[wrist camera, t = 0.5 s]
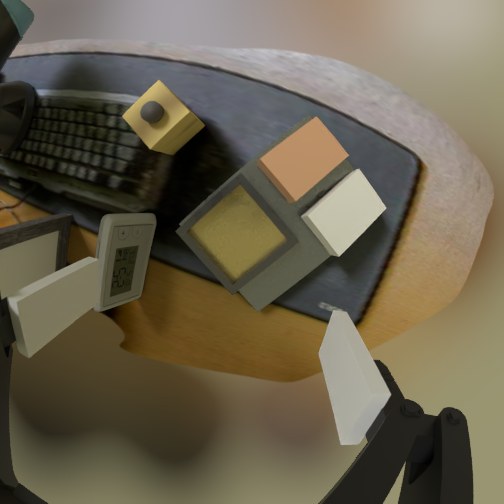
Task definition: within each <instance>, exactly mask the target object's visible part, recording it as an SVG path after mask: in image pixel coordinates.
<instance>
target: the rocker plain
mask: <svg viewBox="0 0 504 504" xmlns="http://www.w3.org/2000/svg"><path fill="white" fill-rule="evenodd" d="M385 209H386V207H385V205H384V204H383V202H382V201H381V199H380V198H379V196H378V195H377V193H376V192H375V191H374V189H373V188H372V186H371V185H370V183H369V182H368V181H367V179H366V178H365V176H364V175H363V174H362V172H361V171H360V170H359V169H357V170H355V171H352V172H350V173H349V174H348V175H346V176H345V177H344V178H343V179H342V180H341V181H340V182H339V183H338V184H336V185H335V186H334V187H333V188H332V189H331V190H330V191H329V192H328V193H326V194H325V195H324V196H323V197H322V198H321V199H320V200H319V201H318V202H316V203H315V204H314V205H313V206H312V207H311V208H310V209H309V210H307V211H306V212H305V213H304V214H303V215H302V216H301V218H302V219H303V220H304V222H305V223H306V224H307V225H308V227H309V228H310V229H311V230H312V232H313V233H314V234H315V235H316V237H317V238H318V239H319V241H320V242H321V243H322V244H323V246H324V247H325V248H326V250H327V251H328V252H329V254H330V255H333V256H338V257H339V256H340V255H341V254H342V253H343V252H344V251H345V250H346V249H347V248H348V247H349V246H350V245H351V244H352V243H353V242H354V241H355V240H356V239H357V238H358V237H359V236H360V235H361V234H362V233H363V232H364V231H365V230H366V229H367V228H368V227H369V226H370V225H371V224H372V223H373V222H374V221H375V220H376V219H377V218H378V217H379V215H380V214H381V213H382V212H383V211H384V210H385Z"/></svg>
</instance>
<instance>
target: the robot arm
mask: <svg viewBox="0 0 504 504" xmlns="http://www.w3.org/2000/svg"><path fill="white" fill-rule="evenodd" d="M33 20H34V13H33V11H32V10H31V9H30V8H29V7H28V6H27V5H26V4H25V3H23V2H22V1H21V0H0V71H1V70H2V68H3V66H4V64H5V63H6V61H7V60H8V58H9V56H10V55H11V53H12V52H13V50H14V49H15V47H16V46H17V44H18V43H19V41H21V40H22V38H23V35H24V34H25V32H26V31H27V30H28V28H29V27H30V25H31V24H32V22H33ZM33 110H34V91H33V88H32V86H31V85H30V84H29V83H26V82H23V81H13V82H7V83H2V84H0V154H9V153H11V152H13V151H14V150H15V149H16V148H17V147H18V146H19V144H20V143H21V141H22V140H23V138H24V136H25V134H26V132H27V130H28V127H29V125H30V122H31V118H32V115H33ZM98 303H99V259H96V258H92V257H87V258H84V259H82V260H80V261H78V262H76V263H73V264H71V265H69V266H67V267H65V268H63V269H61V270H58V271H56V272H54V273H52V274H50V275H48V276H46V277H44V278H42V279H40V280H38V281H36V282H34V283H32V284H30V285H28V286H26V287H24V288H22V289H20V290H18V291H16V292H14V293H12V294H11V295H9V296H7V297H5V298H4V299H1V293H0V504H48V503H47V502H45V501H44V500H42V499H41V498H39V497H38V496H36V495H35V494H34V493H32V492H31V491H29V490H28V489H27V488H25V487H24V486H23V485H21V484H20V483H18V481H17V479H16V477H15V474H14V471H13V466H12V459H11V448H10V434H9V388H10V374H11V363H12V354H13V348H12V343H13V342H14V341H16V343H17V347H18V351H19V352H20V353H22V354H23V355H25V356H26V357H28V358H30V357H31V356H32V355H33V354H35V353H36V352H37V351H38V350H39V349H41V348H42V347H43V346H44V345H45V344H47V343H48V342H49V341H50V340H52V339H53V338H54V337H55V336H57V335H58V334H59V333H60V332H62V331H63V330H64V329H66V328H67V327H68V326H69V325H71V324H72V323H73V322H74V321H76V320H77V319H78V318H80V317H81V316H82V315H83V314H85V313H86V312H87V311H89V310H90V309H91V308H93V307H94V306H95V305H97V304H98ZM318 354H319V357H320V361H321V365H322V369H323V373H324V377H325V381H326V385H327V389H328V392H329V397H330V401H331V405H332V409H333V413H334V417H335V421H336V426H337V430H338V434H339V439H340V443H341V445H350V444H351V445H355V444H359V443H360V442H361V440H362V439H363V437H364V436H365V435H366V438H367V441H368V443H367V444H366V446H365V447H364V448H363V450H362V451H361V452H360V453H359V455H358V456H357V457H356V459H355V461H354V462H353V463H352V465H351V466H350V467H349V468H348V470H347V471H346V472H345V473H344V475H343V476H342V477H341V478H340V480H339V481H338V482H337V483H336V484H335V486H334V487H333V488H332V489H331V490H330V491H329V492H328V494H327V495H326V496H325V497H324V498H323V499H322V500H321V501H320V502H319V503H318V504H383V502H384V500H385V498H386V497H387V495H388V494H389V492H390V490H391V488H392V487H393V485H394V483H395V481H396V479H397V477H398V475H399V473H400V471H401V469H402V467H403V465H404V463H405V461H406V465H405V471H404V477H403V482H402V487H401V492H400V497H399V501H398V504H473V471H472V457H471V448H470V439H469V432H468V426H467V420H466V418H465V416H464V415H463V413H462V412H461V411H459V410H458V409H455V408H452V407H447V408H444V409H443V410H442V411H441V412H440V414H439V415H438V416H433V415H427V414H424V411H423V409H422V408H421V406H420V405H418V404H417V403H416V402H414V401H411V400H408V399H405V398H404V396H403V394H402V393H401V391H400V389H399V387H398V385H397V384H396V382H395V381H394V378H393V377H392V375H391V373H390V372H389V370H388V368H387V367H386V366H385V365H384V364H383V363H382V362H381V361H380V360H373V359H372V357H371V355H370V353H369V351H368V349H367V348H366V346H365V344H364V342H363V340H362V338H361V337H360V335H359V333H358V331H357V330H356V328H355V326H354V324H353V322H352V321H351V319H350V317H349V315H348V314H347V312H343V311H337V310H333V312H332V316H331V319H330V322H329V325H328V327H327V330H326V333H325V336H324V339H323V342H322V345H321V347H320V350H319V353H318Z"/></svg>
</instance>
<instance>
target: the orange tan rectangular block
mask: <svg viewBox="0 0 504 504" xmlns="http://www.w3.org/2000/svg"><path fill="white" fill-rule="evenodd" d="M348 156H349V155H348V154H347V152H346V151H345V150H344V149H343V147H342V146H341V145H340V144H339V142H338V141H337V140H336V139H335V138H334V136H333V135H332V134H331V133H330V131H329V130H328V129H327V128H326V127H325V126H324V124H323V123H322V122H321V121H320V120H319V119H318V118H317V116H316V117H315V118H314V119H312V120H311V121H309V122H308V123H307V124H305V125H304V126H303V127H301V128H300V129H298V130H297V131H296V132H294V133H293V134H292V135H290V136H289V137H288V138H286V139H285V140H284V141H282V142H281V143H280V144H278V145H277V146H276V147H274V148H273V149H272V150H271V151H269V152H268V153H267V154H265V155H264V156H263V157H262V158H260V159H259V161H258V162H257V166H258V167H259V168H260V169H261V170H262V171H263V172H264V174H265V175H266V176H267V177H268V178H269V179H270V181H271V182H272V183H273V184H274V185H275V186H276V188H277V189H278V190H279V191H280V192H281V194H282V195H283V196H284V197H285V198H286V200H287V201H288V202H289V203H293V202H296V201H297V200H298V199H299V198H300V197H302V196H303V195H304V194H305V193H306V192H307V191H308V190H310V189H311V188H312V187H313V186H314V185H315V184H317V183H318V182H319V181H320V180H321V179H322V178H323V177H325V176H326V175H327V174H328V173H329V172H330V171H332V170H333V169H334V168H335V167H336V166H337V165H338V164H340V163H341V162H342V161H343V160H344V159H345V158H347V157H348Z"/></svg>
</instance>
